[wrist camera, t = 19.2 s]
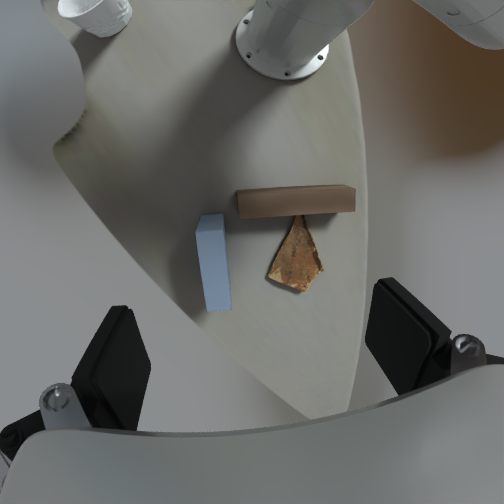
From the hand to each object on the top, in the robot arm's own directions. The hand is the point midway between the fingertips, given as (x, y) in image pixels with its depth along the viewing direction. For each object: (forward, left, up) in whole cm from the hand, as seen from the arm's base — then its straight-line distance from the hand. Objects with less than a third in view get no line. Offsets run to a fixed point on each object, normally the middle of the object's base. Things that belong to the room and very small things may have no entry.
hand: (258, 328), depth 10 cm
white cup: (-30, -16, -28) cm, 44 cm away
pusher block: (+7, -3, -28) cm, 29 cm away
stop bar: (+1, +8, -28) cm, 29 cm away
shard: (+9, +7, -29) cm, 31 cm away
